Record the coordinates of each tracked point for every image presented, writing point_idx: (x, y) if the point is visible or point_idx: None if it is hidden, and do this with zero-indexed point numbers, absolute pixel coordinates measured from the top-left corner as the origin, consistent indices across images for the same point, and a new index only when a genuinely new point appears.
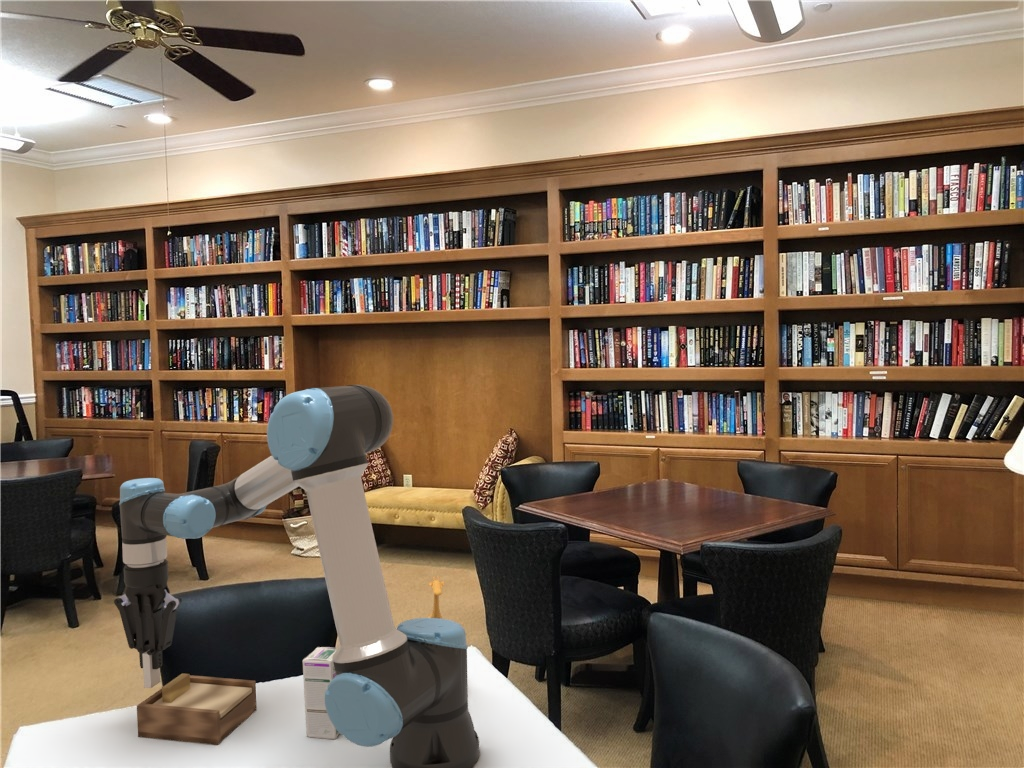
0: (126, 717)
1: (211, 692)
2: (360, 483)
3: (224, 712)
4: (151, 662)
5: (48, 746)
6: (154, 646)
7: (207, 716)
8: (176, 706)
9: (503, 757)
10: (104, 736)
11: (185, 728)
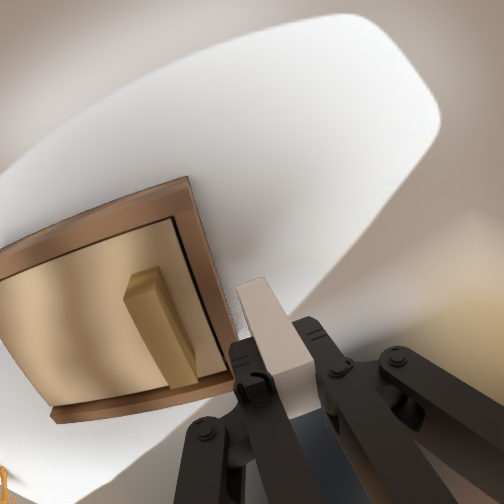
0: (308, 229)
1: (95, 364)
2: None
3: None
4: (259, 352)
5: (355, 62)
6: (249, 424)
7: None
8: (92, 268)
9: None
10: (276, 138)
11: (44, 232)
